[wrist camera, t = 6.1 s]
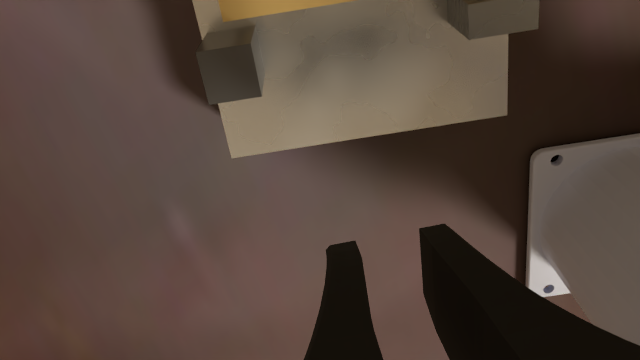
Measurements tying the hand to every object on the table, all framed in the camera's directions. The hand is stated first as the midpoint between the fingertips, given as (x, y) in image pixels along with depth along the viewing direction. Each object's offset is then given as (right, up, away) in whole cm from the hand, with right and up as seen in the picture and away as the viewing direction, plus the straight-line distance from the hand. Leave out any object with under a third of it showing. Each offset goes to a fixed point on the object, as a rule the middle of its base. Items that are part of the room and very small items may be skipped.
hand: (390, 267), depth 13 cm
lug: (-4, +6, +5) cm, 9 cm away
